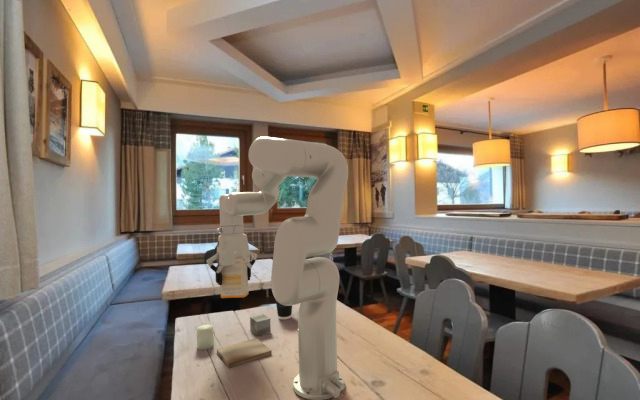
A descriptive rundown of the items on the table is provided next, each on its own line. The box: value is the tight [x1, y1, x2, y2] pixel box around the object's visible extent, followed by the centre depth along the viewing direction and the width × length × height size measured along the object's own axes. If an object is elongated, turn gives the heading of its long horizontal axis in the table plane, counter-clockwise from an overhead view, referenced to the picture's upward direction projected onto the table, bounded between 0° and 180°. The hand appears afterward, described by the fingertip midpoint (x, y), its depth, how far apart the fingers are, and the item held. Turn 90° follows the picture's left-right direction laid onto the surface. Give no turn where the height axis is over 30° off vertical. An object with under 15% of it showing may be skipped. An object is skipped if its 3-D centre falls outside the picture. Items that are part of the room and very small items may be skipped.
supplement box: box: [219, 257, 250, 299], centre depth 109 cm, size 8×5×13 cm, turn 83°
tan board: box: [216, 337, 273, 369], centre depth 99 cm, size 11×13×1 cm
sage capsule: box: [196, 324, 215, 351], centre depth 104 cm, size 5×5×6 cm
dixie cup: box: [275, 299, 293, 320], centre depth 129 cm, size 8×8×11 cm
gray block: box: [249, 313, 271, 337], centre depth 115 cm, size 6×5×5 cm
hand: (233, 282), depth 109 cm, fingers closed on supplement box, 9 cm apart
